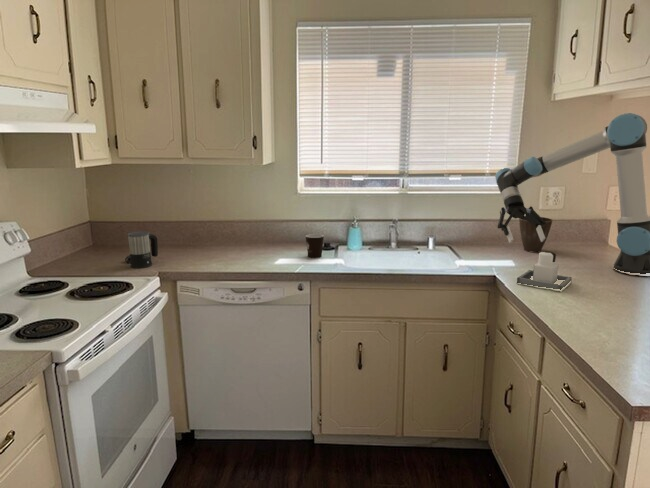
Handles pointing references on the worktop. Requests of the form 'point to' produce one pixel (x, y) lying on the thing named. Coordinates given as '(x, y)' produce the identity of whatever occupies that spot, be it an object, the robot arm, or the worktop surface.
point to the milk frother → (141, 249)
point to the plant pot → (533, 234)
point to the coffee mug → (314, 245)
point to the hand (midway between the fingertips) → (527, 240)
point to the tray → (526, 280)
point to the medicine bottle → (546, 267)
